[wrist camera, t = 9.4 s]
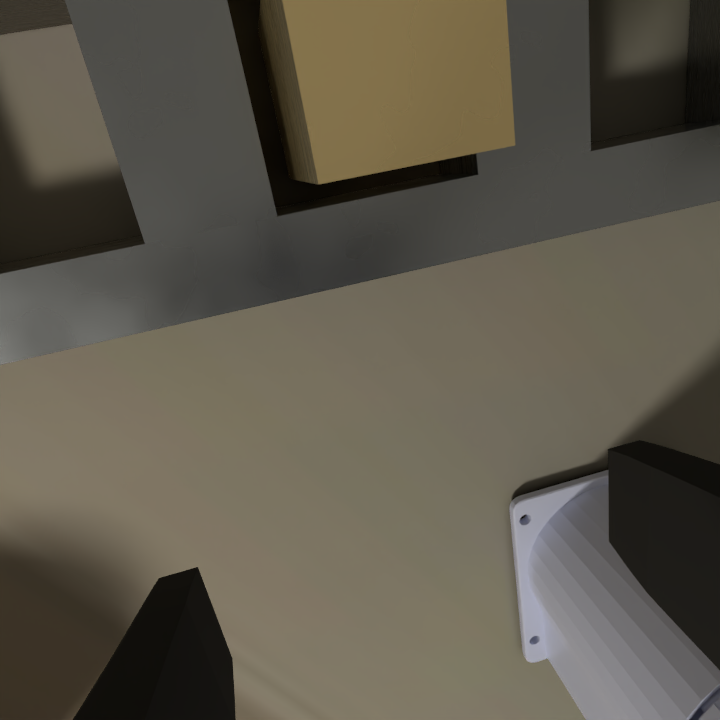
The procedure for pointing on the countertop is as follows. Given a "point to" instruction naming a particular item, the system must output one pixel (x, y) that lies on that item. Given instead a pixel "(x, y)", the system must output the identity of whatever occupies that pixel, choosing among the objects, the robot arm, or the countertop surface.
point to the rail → (336, 213)
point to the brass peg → (386, 82)
